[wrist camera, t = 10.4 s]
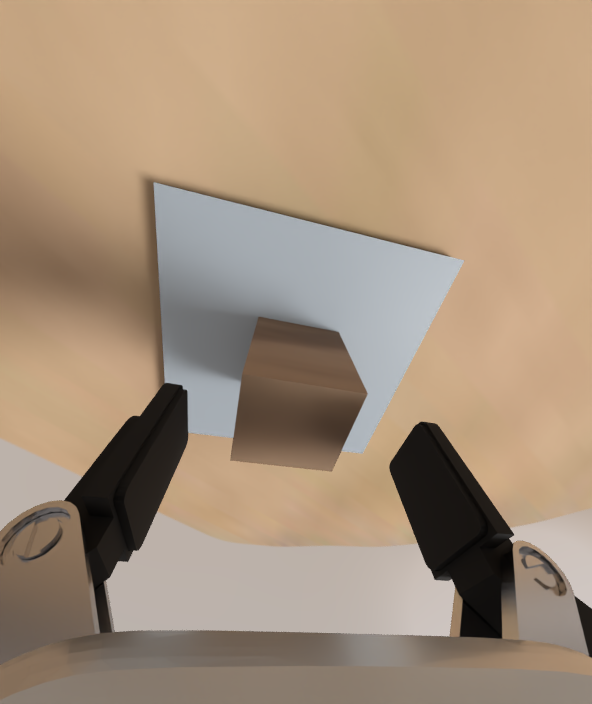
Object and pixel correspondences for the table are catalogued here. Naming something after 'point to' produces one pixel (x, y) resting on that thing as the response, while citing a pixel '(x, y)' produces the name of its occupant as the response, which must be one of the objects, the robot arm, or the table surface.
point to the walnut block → (296, 397)
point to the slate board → (284, 300)
